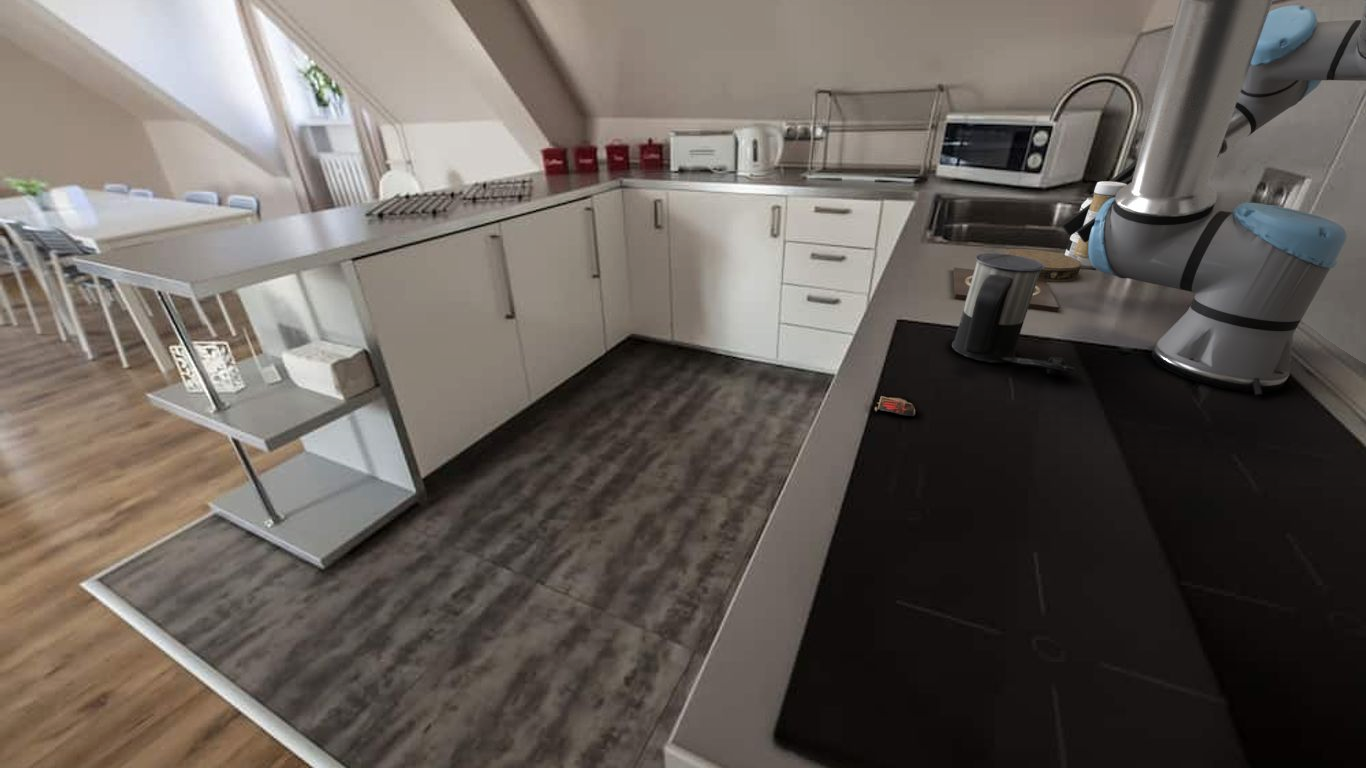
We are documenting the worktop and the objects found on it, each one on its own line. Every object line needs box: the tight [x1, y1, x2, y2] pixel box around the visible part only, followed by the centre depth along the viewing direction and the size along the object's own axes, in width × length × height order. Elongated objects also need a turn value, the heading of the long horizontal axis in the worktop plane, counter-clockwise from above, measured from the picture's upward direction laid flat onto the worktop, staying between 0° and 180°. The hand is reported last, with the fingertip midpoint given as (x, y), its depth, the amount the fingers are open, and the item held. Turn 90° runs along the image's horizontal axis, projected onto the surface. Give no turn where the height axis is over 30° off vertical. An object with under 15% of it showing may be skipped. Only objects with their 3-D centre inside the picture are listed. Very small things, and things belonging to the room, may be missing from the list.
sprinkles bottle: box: [1073, 180, 1127, 258], centre depth 104 cm, size 5×5×13 cm
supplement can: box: [1064, 196, 1096, 270], centre depth 131 cm, size 8×8×15 cm
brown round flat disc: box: [1001, 248, 1081, 283], centre depth 128 cm, size 16×16×3 cm
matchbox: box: [874, 395, 916, 417], centre depth 73 cm, size 5×5×1 cm
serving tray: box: [952, 267, 1060, 313], centre depth 116 cm, size 20×18×1 cm
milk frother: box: [951, 252, 1076, 376], centre depth 83 cm, size 14×16×15 cm
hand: (1073, 233), depth 105 cm, fingers closed on sprinkles bottle, 4 cm apart
